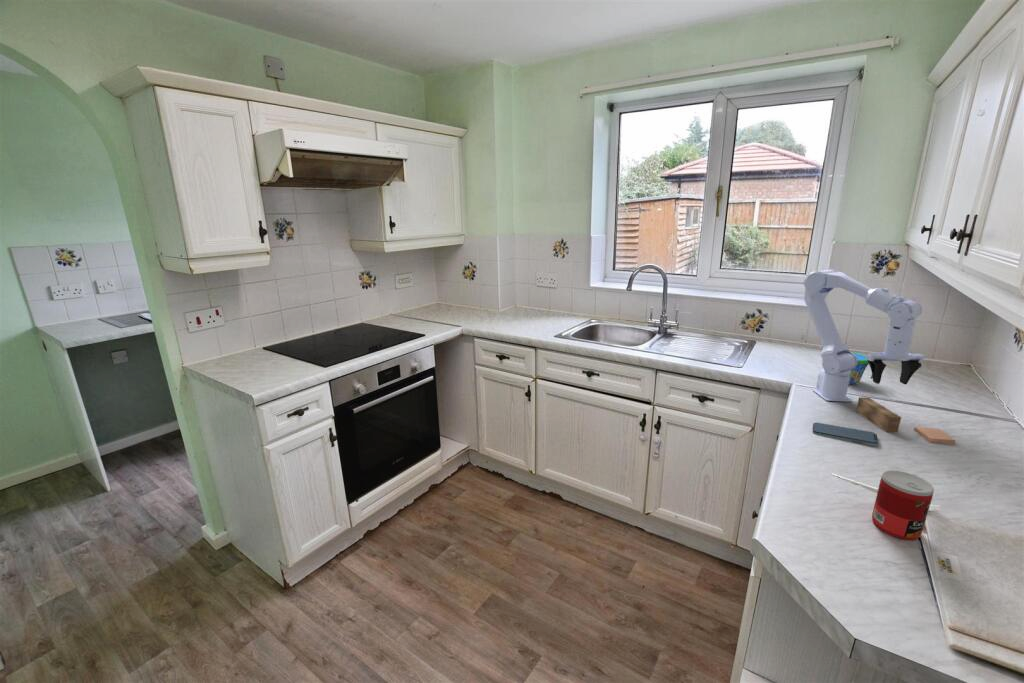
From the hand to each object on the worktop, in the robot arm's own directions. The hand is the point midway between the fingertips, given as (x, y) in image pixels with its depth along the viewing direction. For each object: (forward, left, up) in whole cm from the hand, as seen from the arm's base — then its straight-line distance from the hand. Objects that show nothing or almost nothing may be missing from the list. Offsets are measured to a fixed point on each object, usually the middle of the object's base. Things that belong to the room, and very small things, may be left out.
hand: (889, 382), depth 140 cm
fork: (+44, -27, -11) cm, 53 cm away
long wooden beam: (+6, -5, -11) cm, 13 cm away
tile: (+11, +5, -10) cm, 16 cm away
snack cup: (-28, +5, -11) cm, 31 cm away
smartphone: (+16, -20, -11) cm, 27 cm away
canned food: (+57, -31, -11) cm, 66 cm away
